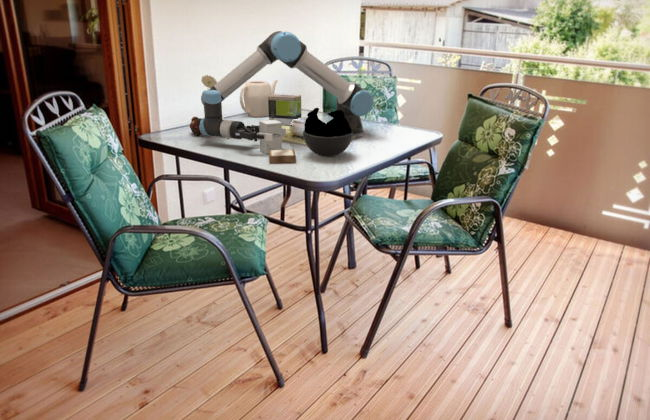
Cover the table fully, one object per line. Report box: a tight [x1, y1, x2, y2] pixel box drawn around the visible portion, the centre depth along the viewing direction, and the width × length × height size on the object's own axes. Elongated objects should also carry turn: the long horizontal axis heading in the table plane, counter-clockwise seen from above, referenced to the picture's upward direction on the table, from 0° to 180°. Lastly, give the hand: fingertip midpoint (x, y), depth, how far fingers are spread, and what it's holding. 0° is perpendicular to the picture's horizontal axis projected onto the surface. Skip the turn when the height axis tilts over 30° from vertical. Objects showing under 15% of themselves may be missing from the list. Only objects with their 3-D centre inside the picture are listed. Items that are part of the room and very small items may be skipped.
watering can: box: [239, 79, 278, 118], centre depth 280 cm, size 16×27×19 cm, turn 135°
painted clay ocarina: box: [189, 116, 203, 137], centre depth 234 cm, size 10×15×8 cm, turn 45°
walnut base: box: [268, 148, 297, 165], centre depth 195 cm, size 10×10×3 cm
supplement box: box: [258, 119, 283, 155], centre depth 206 cm, size 7×7×13 cm
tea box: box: [268, 93, 302, 126], centre depth 260 cm, size 15×10×15 cm, turn 71°
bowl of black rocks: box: [302, 107, 354, 158], centre depth 199 cm, size 20×20×19 cm
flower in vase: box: [201, 74, 226, 120], centre depth 253 cm, size 13×11×25 cm
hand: (279, 134), depth 204 cm, fingers open, 11 cm apart
